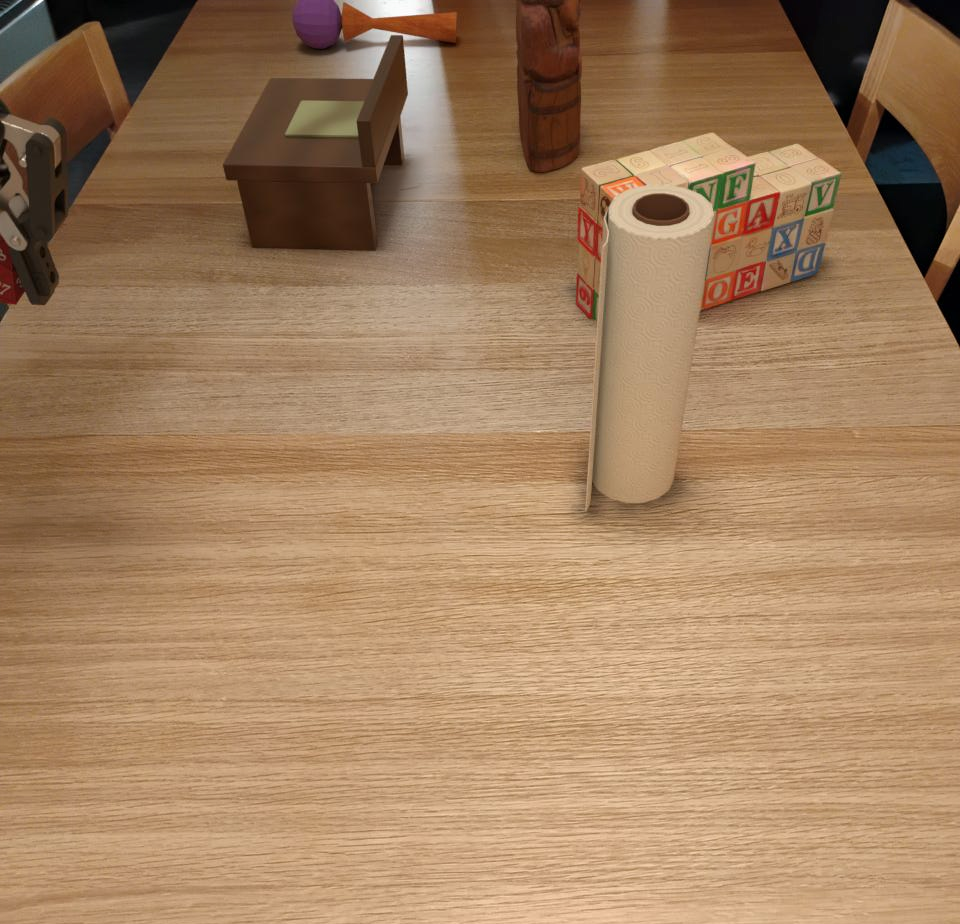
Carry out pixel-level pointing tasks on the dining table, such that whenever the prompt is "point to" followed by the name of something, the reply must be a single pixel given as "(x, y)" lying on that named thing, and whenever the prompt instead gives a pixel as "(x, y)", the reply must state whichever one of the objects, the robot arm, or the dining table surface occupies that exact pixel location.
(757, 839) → the dining table surface
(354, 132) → the miniature wooden chair
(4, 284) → the dice
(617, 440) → the paper towel roll
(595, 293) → the stack of blocks
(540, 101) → the wooden figurine
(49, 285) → the robot arm
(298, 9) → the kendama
